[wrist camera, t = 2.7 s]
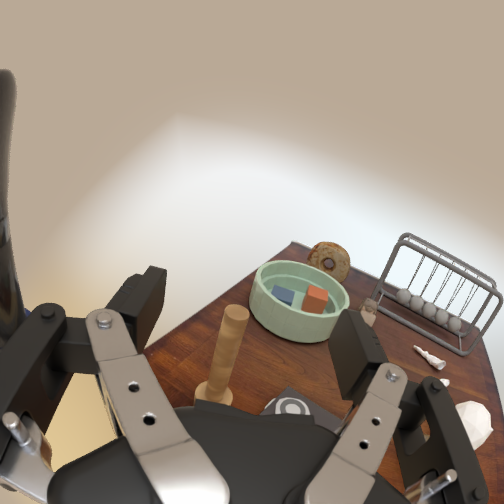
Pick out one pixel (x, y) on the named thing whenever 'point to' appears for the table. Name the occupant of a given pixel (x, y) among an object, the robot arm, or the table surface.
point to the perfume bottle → (475, 422)
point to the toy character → (368, 310)
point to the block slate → (283, 294)
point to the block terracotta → (314, 300)
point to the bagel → (335, 254)
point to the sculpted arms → (433, 362)
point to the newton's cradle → (430, 308)
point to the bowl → (295, 301)
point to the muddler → (224, 356)
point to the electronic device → (301, 408)
